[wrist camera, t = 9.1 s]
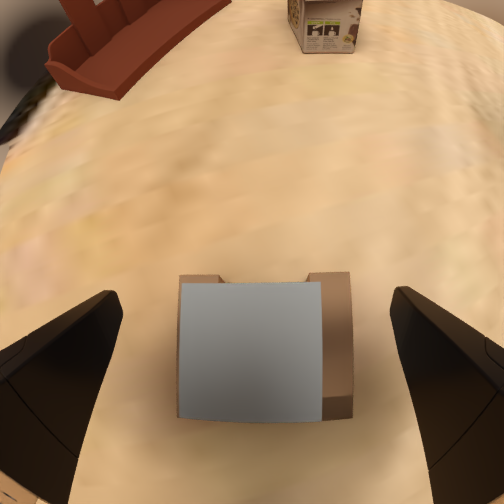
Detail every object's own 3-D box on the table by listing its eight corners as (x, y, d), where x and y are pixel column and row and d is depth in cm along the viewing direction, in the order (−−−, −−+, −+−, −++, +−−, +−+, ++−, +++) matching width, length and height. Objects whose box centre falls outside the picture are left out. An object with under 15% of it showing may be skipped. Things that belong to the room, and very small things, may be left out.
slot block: (344, 410, 18) (352, 418, 15) (188, 409, 18) (176, 417, 16) (341, 280, 20) (349, 271, 18) (190, 283, 21) (179, 275, 19)
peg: (296, 377, 19) (321, 421, 7) (235, 377, 19) (179, 417, 8) (295, 318, 20) (320, 281, 8) (236, 318, 20) (181, 283, 9)
